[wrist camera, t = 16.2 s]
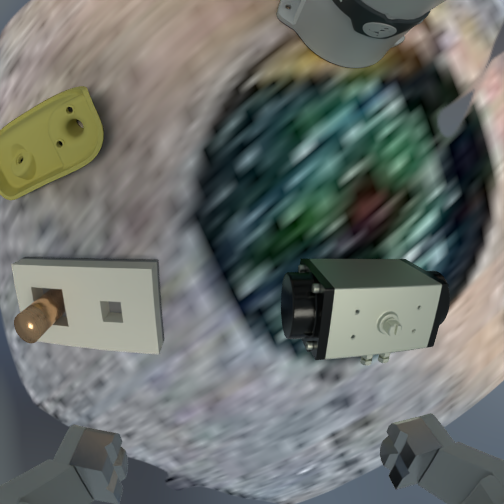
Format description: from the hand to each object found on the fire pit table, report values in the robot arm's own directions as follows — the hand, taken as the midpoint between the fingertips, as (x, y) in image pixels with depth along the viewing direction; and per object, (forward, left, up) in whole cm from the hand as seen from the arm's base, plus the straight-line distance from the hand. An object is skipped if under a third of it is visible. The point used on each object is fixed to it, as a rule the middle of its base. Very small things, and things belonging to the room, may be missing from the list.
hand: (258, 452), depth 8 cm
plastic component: (-12, -26, -35) cm, 45 cm away
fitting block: (+10, -21, -34) cm, 41 cm away
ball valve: (+6, +14, -34) cm, 38 cm away
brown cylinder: (+10, -26, -33) cm, 43 cm away
